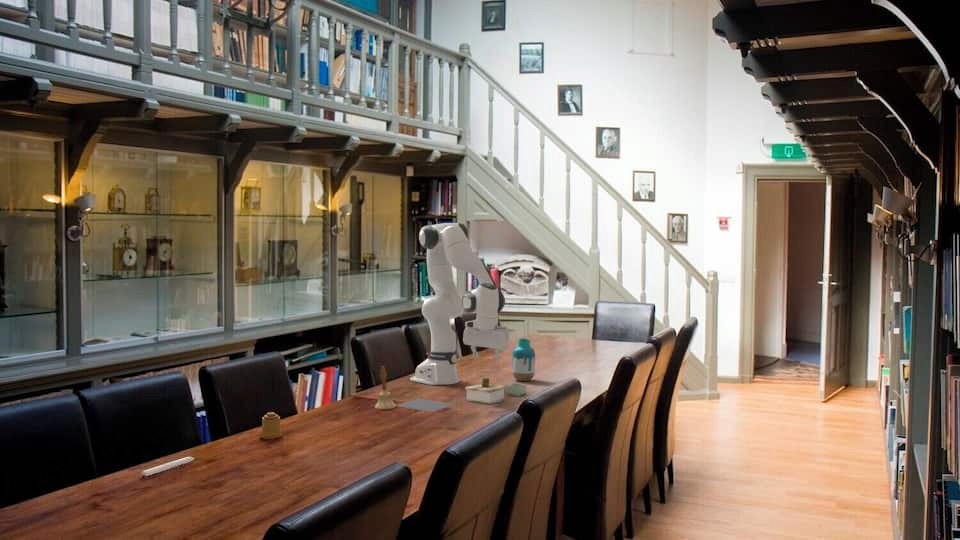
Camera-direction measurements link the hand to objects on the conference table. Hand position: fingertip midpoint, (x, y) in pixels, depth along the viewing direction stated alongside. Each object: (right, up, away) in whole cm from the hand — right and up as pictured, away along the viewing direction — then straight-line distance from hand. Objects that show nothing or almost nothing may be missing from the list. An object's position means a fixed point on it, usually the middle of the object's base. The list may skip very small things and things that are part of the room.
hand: (485, 358), depth 327 cm
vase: (+18, -15, +44) cm, 50 cm away
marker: (-91, -22, -95) cm, 133 cm away
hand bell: (-39, -18, -14) cm, 45 cm away
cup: (+13, -17, +14) cm, 25 cm away
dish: (0, -17, +1) cm, 17 cm away
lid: (0, -12, 0) cm, 12 cm away
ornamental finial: (-71, -20, -59) cm, 94 cm away
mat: (-24, -18, -11) cm, 31 cm away
